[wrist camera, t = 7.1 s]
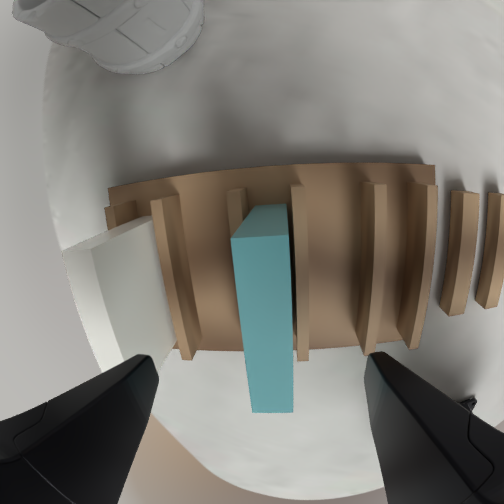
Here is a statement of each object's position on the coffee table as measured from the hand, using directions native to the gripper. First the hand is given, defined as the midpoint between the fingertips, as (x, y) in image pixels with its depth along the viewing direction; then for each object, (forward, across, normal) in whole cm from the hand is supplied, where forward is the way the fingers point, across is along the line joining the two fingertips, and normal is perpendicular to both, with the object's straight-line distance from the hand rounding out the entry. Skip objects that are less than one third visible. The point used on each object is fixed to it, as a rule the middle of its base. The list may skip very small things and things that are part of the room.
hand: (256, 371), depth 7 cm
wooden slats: (+10, -14, 0) cm, 17 cm away
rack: (+10, 0, 0) cm, 10 cm away
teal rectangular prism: (+9, 0, 0) cm, 9 cm away
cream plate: (+9, +6, 0) cm, 11 cm away
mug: (+10, +6, -18) cm, 21 cm away
